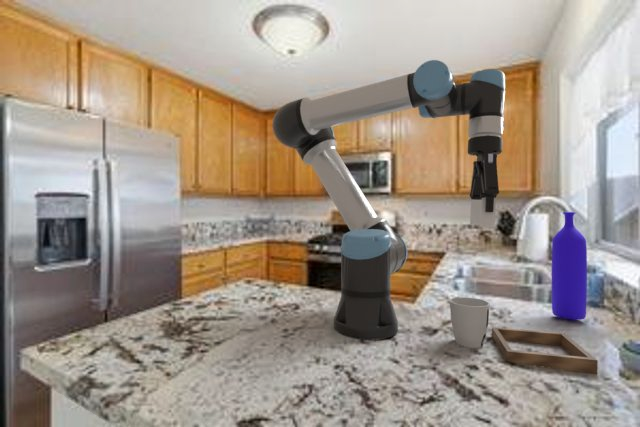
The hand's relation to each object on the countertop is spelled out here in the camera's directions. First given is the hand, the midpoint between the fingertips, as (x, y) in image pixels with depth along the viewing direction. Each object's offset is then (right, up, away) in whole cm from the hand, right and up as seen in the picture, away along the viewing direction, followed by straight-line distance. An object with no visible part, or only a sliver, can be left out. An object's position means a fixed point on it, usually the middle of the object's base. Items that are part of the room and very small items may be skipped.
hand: (481, 226), depth 84 cm
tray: (+7, -27, -11) cm, 29 cm away
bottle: (+33, -27, +17) cm, 45 cm away
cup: (-6, -27, -7) cm, 28 cm away
